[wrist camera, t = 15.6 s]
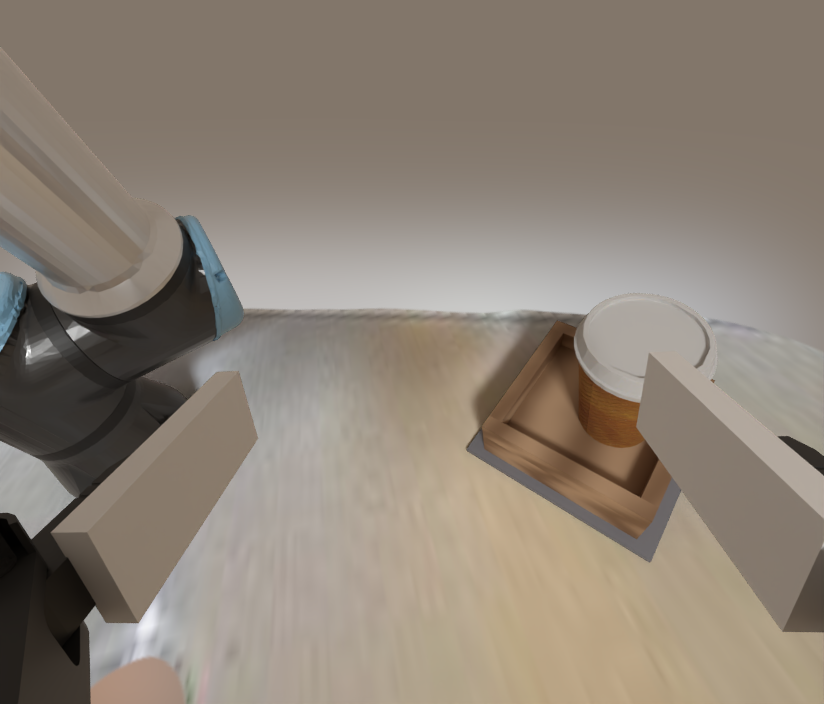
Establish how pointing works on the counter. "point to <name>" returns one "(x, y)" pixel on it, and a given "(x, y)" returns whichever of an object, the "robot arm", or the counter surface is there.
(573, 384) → the crate
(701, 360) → the disposable coffee cup
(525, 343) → the counter surface
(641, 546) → the mat
